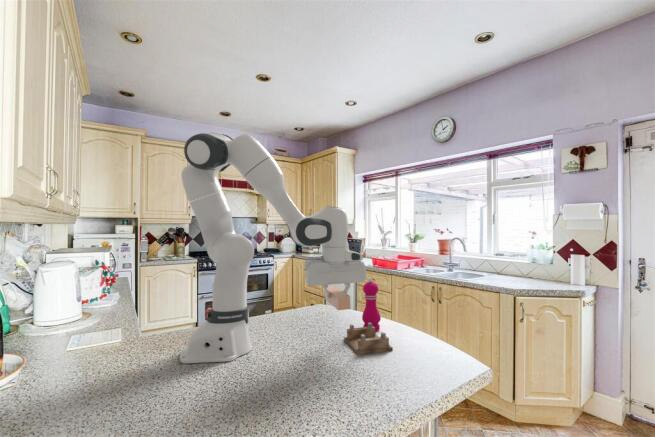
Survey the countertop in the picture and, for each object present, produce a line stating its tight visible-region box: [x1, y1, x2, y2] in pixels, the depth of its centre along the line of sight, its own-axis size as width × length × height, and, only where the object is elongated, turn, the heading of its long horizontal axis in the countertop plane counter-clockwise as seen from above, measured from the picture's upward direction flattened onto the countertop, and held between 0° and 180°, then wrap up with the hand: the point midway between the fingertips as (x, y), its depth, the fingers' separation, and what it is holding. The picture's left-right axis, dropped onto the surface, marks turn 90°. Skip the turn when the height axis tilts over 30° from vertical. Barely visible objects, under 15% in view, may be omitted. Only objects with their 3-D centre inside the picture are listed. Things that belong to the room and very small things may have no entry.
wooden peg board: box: [343, 322, 394, 356], centre depth 108 cm, size 12×14×6 cm
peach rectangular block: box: [324, 286, 351, 311], centre depth 105 cm, size 4×16×4 cm, turn 15°
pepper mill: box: [361, 277, 381, 332], centre depth 125 cm, size 7×7×20 cm
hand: (336, 297), depth 104 cm, fingers closed on peach rectangular block, 4 cm apart
